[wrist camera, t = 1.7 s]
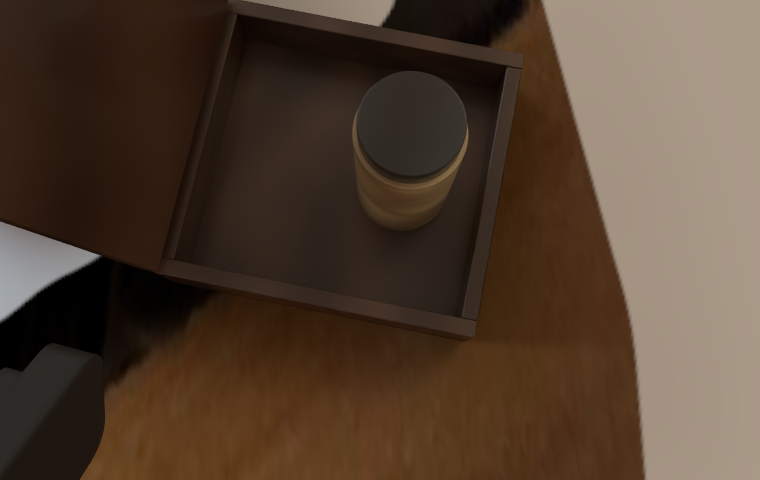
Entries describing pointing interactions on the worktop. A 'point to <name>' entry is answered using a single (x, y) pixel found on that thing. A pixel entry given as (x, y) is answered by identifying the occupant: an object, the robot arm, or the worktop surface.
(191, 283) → the chest
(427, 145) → the beige jar
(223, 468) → the worktop surface
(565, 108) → the worktop surface
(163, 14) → the chest lid
